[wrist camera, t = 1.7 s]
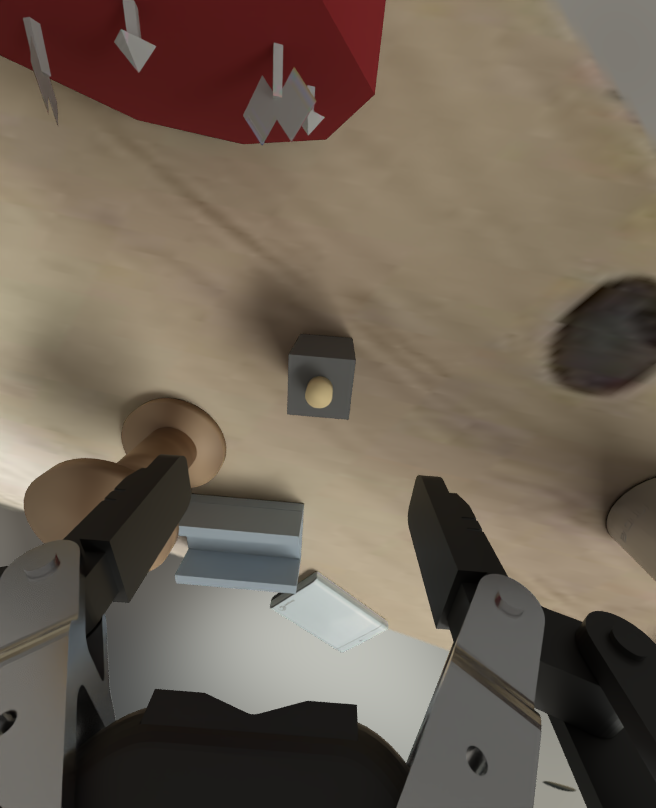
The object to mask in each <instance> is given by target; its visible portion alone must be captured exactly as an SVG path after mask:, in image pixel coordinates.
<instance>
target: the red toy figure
mask: <svg viewBox="0 0 656 808" xmlns="http://www.w3.org/2000/svg"><path fill="white" fill-rule="evenodd" d="M385 2H386V0H0V55H1V56H3V57H5V58H7V59H9V60H11V61H13V62H16V63H18V64H20V65H22V66H24V67H26V68H28V69H30V70H33V71H34V73H35V76H36V79H37V82H38V85H39V88H40V91H41V94H42V97H43V100H44V103H45V106H46V109H47V112H48V97H49V100H50V103H51V106H52V110H53V113H54V116H55V119H56V122H57V125H58V109H57V101H56V97H55V94H54V91H53V88H52V84H51V81H50V79H52V80H54V81H56V82H58V83H60V84H62V85H64V86H67V87H69V88H71V89H73V90H75V91H77V92H79V93H81V94H84V95H86V96H88V97H90V98H92V99H94V100H96V101H98V102H100V103H103V104H105V105H107V106H109V107H111V108H113V109H115V110H117V111H120V112H122V113H124V114H126V115H128V116H130V117H132V118H134V119H137V120H140V121H144V122H149V123H153V124H158V125H162V126H166V127H171V128H175V129H179V130H184V131H188V132H193V133H197V134H201V135H206V136H210V137H214V138H219V139H223V140H228V141H232V142H236V143H241V144H254V143H261V145H263V144H264V143H272V142H290V141H291V142H292V141H307V140H325V139H327V138H328V137H329V136H330V135H331V134H332V133H334V132H335V131H336V130H337V129H338V128H339V127H340V126H341V125H342V124H343V123H344V122H345V121H347V120H348V119H349V118H350V117H351V116H352V115H353V114H354V113H355V112H356V111H357V110H358V109H359V108H361V107H362V106H363V105H364V104H365V103H366V102H367V101H368V100H369V99H370V98H371V97H372V96H373V95H375V87H376V78H377V70H378V61H379V53H380V45H381V36H382V28H383V19H384V11H385ZM48 115H49V114H48Z"/></svg>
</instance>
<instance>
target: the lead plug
mask: <svg viewBox="0 0 656 808" xmlns="http://www.w3.org/2000/svg"><path fill="white" fill-rule="evenodd" d="M355 362H356V359H355V352H354V346H353V339H352V338H344V337H333V336H321V335H310V334H300V336H299V338H298V339H297V341H296V343H295V345H294V346H293V348H292V350H291V351H290V353H289V362H288V404H287V414H289V415H301V416H312V417H324V418H335V419H347V420H349V412H350V404H351V395H352V387H353V379H354V370H355Z"/></svg>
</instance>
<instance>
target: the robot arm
mask: <svg viewBox="0 0 656 808" xmlns="http://www.w3.org/2000/svg"><path fill="white" fill-rule="evenodd" d="M190 500H191V485H190V478H189V471H188V465H187V460H186V457H185V456H180V455H167V454H160V455H158V456H157V457H156V458H155V459H154V460H153V462H152V463H151V464H150V465H149V466H148V467H147V468H140V469H139V470H137V471H135V472H133V473H132V474H130V475H128V476H127V477H125V478H124V479H123V480H122V481H121V482H120V483H119V484H118V485H117V486H116V487H115V488H114V491H111V492H110V493H109V494H108V495H107V496H106V497H105V498H104V501H101V502H100V503H99V504H98V505H97V506H96V507H95V508H94V509H93V510H92V511H91V512H90V513H89V514H88V515H87V516H86V517H85V518H84V519H83V520H82V521H81V522H80V523H79V524H78V525H77V526H76V527H75V528H74V529H73V530H72V531H71V532H70V533H69V534H68V535H67V536H66V537H65V538H64V539H63V540H56V541H51V542H47V543H44V544H42V545H39V546H37V547H35V548H33V549H31V550H29V551H27V552H26V553H24V554H22V555H21V556H19V557H18V558H17V559H15V560H14V561H13V562H12V563H11V564H10V565H9V566H5V567H0V808H533V805H534V796H535V787H536V777H537V768H538V759H539V750H540V740H541V717H540V715H539V713H537V712H536V711H535V710H534V708H536V709H538V710H541V711H543V712H545V713H547V714H548V716H549V719H550V721H551V723H552V726H553V728H554V730H555V733H556V735H557V738H558V740H559V742H560V744H561V747H562V749H563V752H564V754H565V757H566V759H567V761H568V764H569V766H570V768H571V771H572V773H573V775H574V778H575V780H576V783H577V785H578V787H579V790H580V792H581V794H582V797H583V799H584V801H585V804H586V806H587V808H656V644H655V643H654V642H653V641H652V640H651V639H650V638H649V637H648V636H647V635H646V634H645V633H643V632H642V631H641V630H640V629H638V628H637V627H636V626H634V625H633V624H631V623H630V622H628V621H626V620H624V619H623V618H621V617H619V616H616V615H614V614H611V613H608V612H603V611H594V612H591V613H589V614H588V615H587V617H586V618H585V620H584V621H583V622H581V621H579V620H576V619H573V618H571V617H568V616H565V615H562V614H560V613H557V612H554V611H552V610H549V609H547V608H544V607H542V606H541V605H540V603H539V602H538V600H537V599H536V598H535V596H534V595H533V594H532V593H531V592H530V591H529V590H528V589H527V588H526V587H524V586H523V585H522V584H520V583H519V582H517V581H516V580H514V579H512V578H509V577H508V576H507V574H506V572H505V570H504V569H503V567H502V565H501V563H500V561H499V559H498V558H497V556H496V554H495V552H494V550H493V548H492V547H491V545H490V543H489V541H488V539H487V537H486V536H485V534H484V532H482V528H481V526H480V525H479V523H478V521H476V517H475V515H474V514H473V512H472V510H471V508H470V506H469V505H468V504H467V503H466V502H465V501H464V500H463V499H462V498H461V497H460V496H459V495H458V494H457V493H449V491H448V489H447V487H446V485H445V483H444V481H443V479H442V478H441V477H434V476H422V475H418V476H417V478H416V481H415V485H414V489H413V493H412V497H411V501H410V505H409V510H408V525H409V530H410V534H411V537H412V541H413V545H414V548H415V552H416V556H417V560H418V563H419V567H420V571H421V574H422V578H423V582H424V586H425V589H426V593H427V597H428V600H429V604H430V608H431V612H432V615H433V619H434V623H435V626H436V629H449V630H450V631H451V635H452V638H453V641H454V642H453V644H452V647H451V649H450V652H449V655H448V657H447V660H446V662H445V665H444V668H443V670H442V673H441V675H440V678H439V681H438V683H437V686H436V688H435V691H434V694H433V697H432V699H431V701H430V704H429V707H428V709H427V712H426V714H425V717H424V720H423V722H422V725H421V727H420V729H419V732H418V735H417V737H416V740H415V742H414V744H413V747H412V749H411V752H410V755H409V757H408V760H407V762H406V763H405V761H404V760H403V759H402V758H401V756H400V755H399V754H398V753H397V752H396V751H395V750H394V749H393V748H392V746H391V745H390V744H389V743H387V742H386V741H385V740H384V739H383V738H382V737H381V736H379V735H378V734H377V733H375V732H374V731H372V730H371V729H369V728H368V727H366V726H364V725H362V724H360V723H358V722H357V705H353V704H341V703H327V702H315V701H305V702H301V703H298V704H294V705H290V706H286V707H283V708H279V709H275V710H271V711H268V712H264V713H260V714H255V715H254V714H248V713H246V712H244V711H242V710H239V709H237V708H235V707H233V706H231V705H229V704H227V703H225V702H223V701H221V700H219V699H216V698H214V697H212V696H210V695H208V694H206V693H199V692H187V691H174V690H161V689H155V690H154V693H153V695H152V698H151V699H150V702H149V704H148V706H147V708H144V709H141V710H138V711H136V712H133V713H131V714H128V715H126V716H124V717H122V718H120V719H119V720H117V721H116V719H115V713H114V707H113V703H112V699H111V693H110V683H109V664H108V646H107V627H106V616H105V614H104V613H105V612H106V610H107V609H108V607H109V606H110V604H111V603H112V601H113V602H125V603H129V602H130V601H131V599H132V597H133V596H134V594H135V593H136V591H137V589H138V588H139V586H140V584H141V583H142V581H143V580H144V578H145V576H146V575H147V573H148V572H149V570H150V568H151V567H152V565H153V564H154V562H155V560H156V559H157V557H158V556H159V554H160V552H161V551H162V549H163V548H164V546H165V544H166V543H167V541H168V539H169V538H170V536H171V535H172V533H173V531H174V530H175V528H176V527H177V525H178V523H179V522H180V520H181V519H182V517H183V515H184V514H185V512H186V510H187V509H188V506H189V504H190ZM607 530H608V532H609V534H610V536H611V537H612V538H613V539H614V540H615V541H616V542H617V543H618V544H619V545H620V546H621V547H622V548H623V549H624V550H625V551H626V552H627V553H628V554H629V555H630V556H631V557H632V558H633V559H634V560H635V561H636V562H637V563H638V564H639V565H640V566H641V567H642V568H643V569H644V570H645V571H646V572H647V573H648V574H649V575H650V576H651V577H652V578H653V579H654V580H655V581H656V478H654V479H651V480H648V481H645V482H643V483H641V484H639V485H637V486H635V487H634V488H632V489H631V490H629V491H628V492H627V493H625V494H624V495H623V496H622V497H621V498H620V499H619V500H618V501H617V502H616V503H615V504H614V506H613V507H612V508H611V510H610V512H609V515H608V518H607Z"/></svg>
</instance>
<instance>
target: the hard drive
mask: <svg viewBox="0 0 656 808" xmlns="http://www.w3.org/2000/svg"><path fill="white" fill-rule="evenodd" d="M270 608H271V609H272V610H274V611H275V612H277V613H278V614H280V615H282V616H283V617H285V618H286V619H288V620H290V621H292V622H293V623H295V624H296V625H298V626H299V627H301V628H303V629H304V630H306V631H307V632H309V633H310V634H312V635H314V636H315V637H317V638H318V639H320V640H322V641H323V642H325V643H327V644H328V645H330V646H331V647H333V648H335V649H337V650H338V651H340V652H345V651H347V650H349V649H351V648H353V647H355V646H357V645H359V644H361V643H363V642H365V641H367V640H369V639H371V638H373V637H375V636H377V635H379V634H381V633H382V632H384V631H386V630H387V629H388V621H386V620H385V619H384V618H382V617H381V616H380V615H378V614H377V613H375V612H374V611H373V610H371V609H370V608H368V607H367V606H366V605H364V604H363V603H361V602H360V601H359V600H357V599H356V598H354V597H353V596H352V595H350V594H349V593H347V592H346V591H345V590H343V589H342V588H340V587H339V586H338V585H336V584H335V583H333V582H332V581H331V580H329V579H328V578H326V577H325V576H324V575H322V574H321V573H319V572H318V571H317V572H315V573H314V574H312V575H310V576H309V577H307V578H306V579H304V580H303V581H301V582H300V583H298V584H297V590H296V594H292V593H281V592H279V593H277V594H276V595H274V596H273V597H272V599H271V604H270Z"/></svg>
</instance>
